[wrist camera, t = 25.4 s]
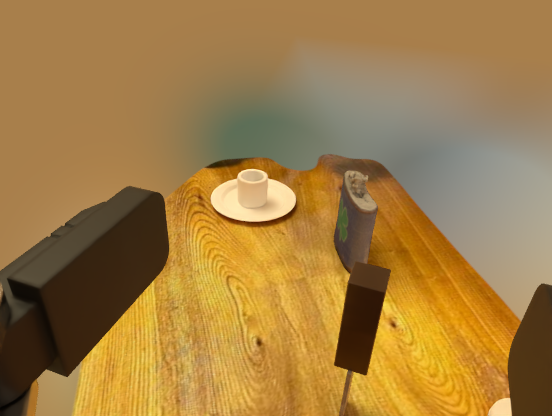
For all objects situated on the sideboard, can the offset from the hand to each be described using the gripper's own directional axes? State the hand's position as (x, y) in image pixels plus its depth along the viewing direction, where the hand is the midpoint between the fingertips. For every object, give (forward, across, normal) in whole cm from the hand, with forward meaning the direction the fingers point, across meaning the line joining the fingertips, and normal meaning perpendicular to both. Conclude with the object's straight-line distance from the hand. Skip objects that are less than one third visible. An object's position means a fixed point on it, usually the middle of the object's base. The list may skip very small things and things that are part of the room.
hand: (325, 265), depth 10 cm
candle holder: (+44, +19, +28) cm, 56 cm away
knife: (+16, 0, +28) cm, 32 cm away
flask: (+38, +4, +28) cm, 48 cm away
